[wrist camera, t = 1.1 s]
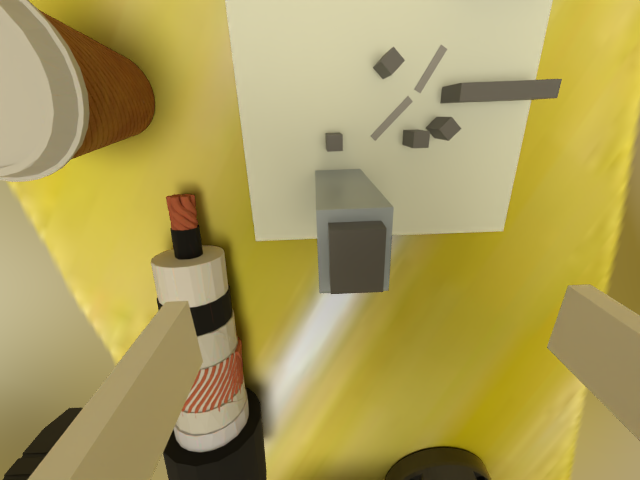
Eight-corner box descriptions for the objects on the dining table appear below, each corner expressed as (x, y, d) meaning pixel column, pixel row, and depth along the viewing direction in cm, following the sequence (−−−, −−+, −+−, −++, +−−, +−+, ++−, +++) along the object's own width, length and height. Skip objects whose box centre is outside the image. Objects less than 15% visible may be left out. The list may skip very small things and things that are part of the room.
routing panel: (500, 229, 30) (526, 245, 26) (256, 239, 29) (248, 256, 26) (555, -36, 22) (605, -67, 18) (223, -24, 22) (204, -53, 18)
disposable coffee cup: (145, 12, 22) (-21, -90, 11) (192, 143, 26) (101, 164, 15) (27, 42, 23) (-242, -26, 12) (89, 166, 26) (-71, 204, 15)
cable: (228, 186, 32) (256, 198, 23) (253, 433, 42) (279, 506, 33) (115, 193, 27) (99, 211, 19) (172, 469, 37) (179, 565, 28)
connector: (359, 222, 28) (393, 302, 16) (317, 223, 28) (320, 305, 16) (360, 168, 26) (399, 214, 14) (315, 170, 26) (316, 217, 14)
